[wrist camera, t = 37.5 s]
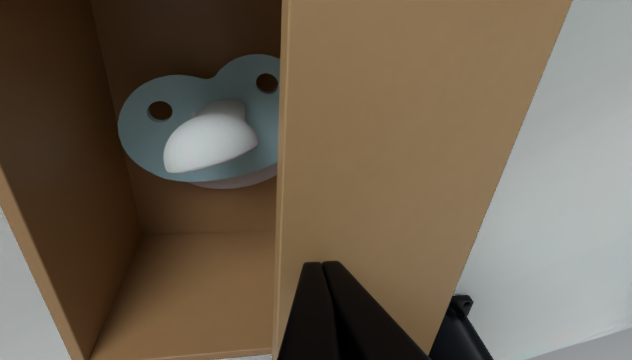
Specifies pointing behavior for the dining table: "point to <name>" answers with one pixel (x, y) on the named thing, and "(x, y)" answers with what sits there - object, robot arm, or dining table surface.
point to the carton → (131, 180)
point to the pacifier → (207, 126)
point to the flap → (398, 140)
